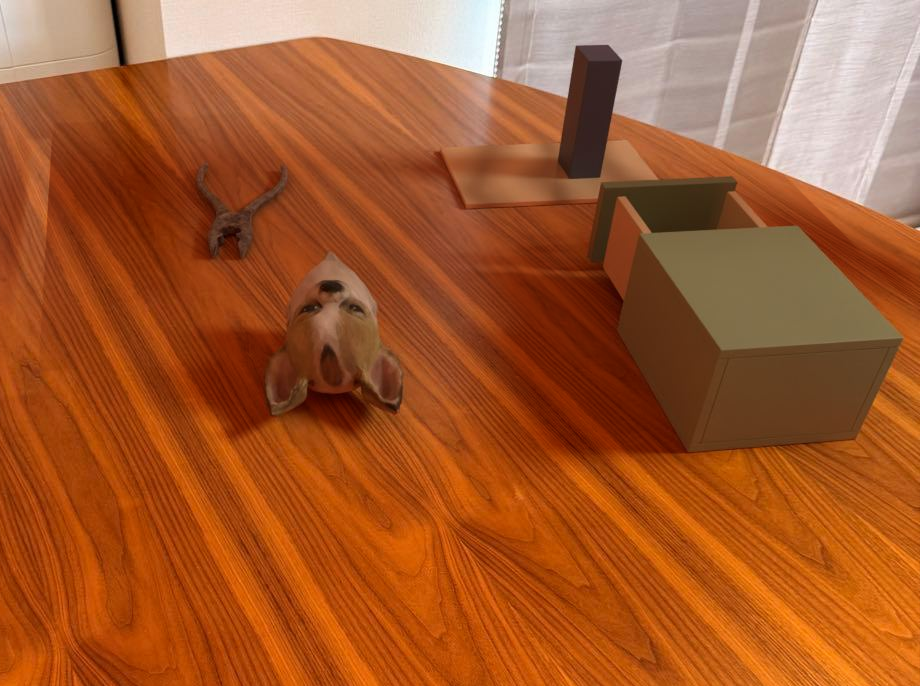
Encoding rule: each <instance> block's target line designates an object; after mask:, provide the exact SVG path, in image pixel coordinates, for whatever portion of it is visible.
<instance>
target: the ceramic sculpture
mask: <svg viewBox="0 0 920 686" xmlns="http://www.w3.org/2000/svg"><path fill="white" fill-rule="evenodd" d="M291 294H292V295H291V297H290V299H289V300H288V301H287V302H286V303H285V309H284V310H285V316H286V318H287V320H286V324H285V325H286V334H285V339H284V342H283V344H282V345H281V347H279V348H278V349H277V350H275V351H274V352H273V353H272V354H271V355H270V357H269V358H268V359H267V365H266V369H265V371H264V373H263V378H262V379H263V384H264V394H265V401H266V406H267V408H268V410H269V415H270V416H271V417H274V418H277V417H278V416H280V415H283V414H285V413H287V412H289V411H291V410H293V409H295V408H297V407H298V406H300V405H301V404H303V403H304V402H305V400H306V399H307V395H308V389H309V390H311V391H313V392H316V393H322V394H333V395H334V394H343V393H344V394H345V393H348V392H353V391H355V390H357V389H359V388H360V391H361V392H360V393H361V396H362V399H363V400H364V401H365V402H367V403H368V404H370V405H371V406H373V407H375V408H376V409H379V410H382V411H385V412H387V413H389V414H392V415H398V414H399V412H400V408H401V405H402V403H403V391H404V371H403V369H402V367H401V366H400V359H399V356H398V355H397V354H395V352H394V351H393V350H392V349H390V348H388V347H387V346H386V345H384V343H383V342H382V340H381V337H380V332H379V322H378V318H377V315H378V313H379V307H378V303H377V301H376V300H375V299H374V298H373V296H372V295H371V292H370V290H369V289H368V287H367V285H366V284H365V283H364V281H362V279H361V278H360V277H359V276H358V275H357V273H355V271H353V269H351V268H350V267H348V265H346V264H345V263H343V262H342V260H341V261H340V259H339V258H338V256H336V254H335V253H334V252H332V251H329V252H328V253H326V254H325V255H324V257H323V258H322V259H321V261H319V262H318V263H317V264H315V265H314V266H313V267H312V268H311V269H310V270H309V271H307V272H306V273H305V275H304V276H303V278H302V279H301V280H299V283H297V284H296V287H295V289H294V290H293V292H292V293H291Z"/></svg>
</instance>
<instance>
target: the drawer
mask: <svg viewBox="0 0 920 686" xmlns="http://www.w3.org/2000/svg"><path fill="white" fill-rule="evenodd" d="M737 185H738V181H737V180H736V179H735V177H734V176H732V175H731V176H728V175H727V176H709V177H684V178H665V179H663V178H662V179H659V180H638V181H615V182H601V185H600V190H599V195H598V201H597V203H596V206H595V212H594V217H593V223H592V226H591V227H592V228H591V232H590V238H589V243H588V248H587V252H586V258H587V260H588V261H589V263H590V264H596V263H597V264H599V263H602V268H603V270H604V271H605V273H606V275H607V276H608V278H609V280H610V281H611V283H612V285H613V286H614V287H615V290H616V291H617V293H618V294H619V296H620V297H621V299H622V302H624V298H625V293H626V289H627V284H628V280H629V276H630V271H631V267H632V263H633V258H634V254H635V249H636V245H637V241H638V237H639V234H642V233H661V232H681V231H700V230H720V229H739V228H758V227H768V225H767V224H766V223H765V222H764V221H763V220H762V219H761V218H760V216H759V215H758V214H757V213H756V212H755V211H754V210H753V209H752V207H751V206H750V205H749V204H748V203H747V202H746V201H745V200H744V199H743V198H742V197H741V196H740V194H739V193H738V192H737V191H736V189H737Z"/></svg>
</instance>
